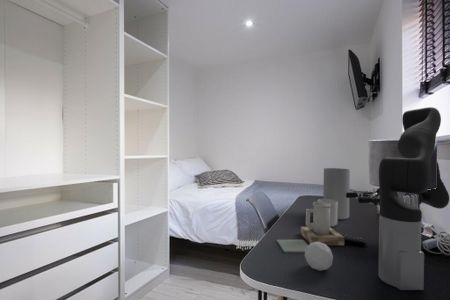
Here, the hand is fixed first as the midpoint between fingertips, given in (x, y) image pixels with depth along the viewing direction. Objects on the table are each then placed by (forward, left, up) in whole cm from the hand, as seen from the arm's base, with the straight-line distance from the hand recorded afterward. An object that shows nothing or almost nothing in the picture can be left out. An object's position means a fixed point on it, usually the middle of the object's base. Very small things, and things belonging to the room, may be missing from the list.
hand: (352, 197), depth 96 cm
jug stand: (0, +12, -16) cm, 20 cm away
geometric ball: (-23, +23, -17) cm, 37 cm away
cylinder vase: (+32, -10, -17) cm, 37 cm away
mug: (+20, 0, -17) cm, 26 cm away
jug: (0, +14, -16) cm, 21 cm away
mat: (-7, +25, -16) cm, 31 cm away
